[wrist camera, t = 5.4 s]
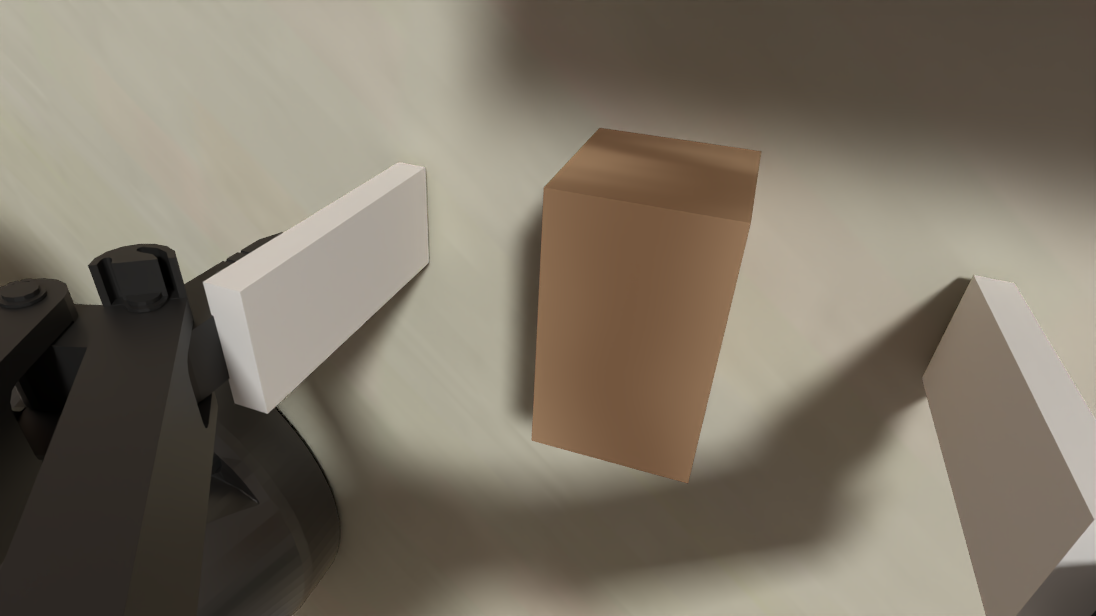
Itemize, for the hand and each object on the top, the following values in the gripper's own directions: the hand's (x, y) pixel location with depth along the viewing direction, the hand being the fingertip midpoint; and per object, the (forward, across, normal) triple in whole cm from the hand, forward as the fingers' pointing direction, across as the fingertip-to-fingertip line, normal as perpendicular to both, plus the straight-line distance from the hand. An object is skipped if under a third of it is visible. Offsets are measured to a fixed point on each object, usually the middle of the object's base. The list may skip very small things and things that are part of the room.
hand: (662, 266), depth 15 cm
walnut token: (0, 0, 0) cm, 0 cm away
